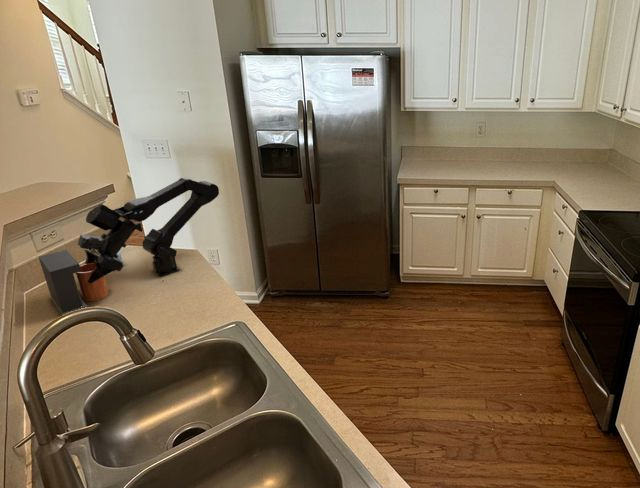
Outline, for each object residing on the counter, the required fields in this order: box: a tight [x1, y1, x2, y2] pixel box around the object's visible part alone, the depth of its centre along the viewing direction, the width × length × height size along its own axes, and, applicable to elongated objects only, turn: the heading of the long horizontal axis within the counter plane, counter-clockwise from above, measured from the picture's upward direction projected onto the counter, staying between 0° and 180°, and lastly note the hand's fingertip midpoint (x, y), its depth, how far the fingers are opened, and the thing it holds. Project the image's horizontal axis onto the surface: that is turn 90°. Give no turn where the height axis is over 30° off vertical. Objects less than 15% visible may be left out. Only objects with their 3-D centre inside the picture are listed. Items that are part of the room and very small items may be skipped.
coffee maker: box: [38, 249, 88, 316], centre depth 131 cm, size 7×14×15 cm, turn 49°
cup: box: [74, 263, 109, 302], centre depth 136 cm, size 7×7×10 cm
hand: (85, 278), depth 135 cm, fingers closed on cup, 7 cm apart
